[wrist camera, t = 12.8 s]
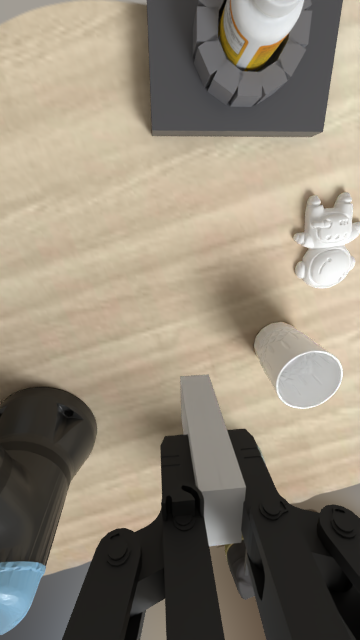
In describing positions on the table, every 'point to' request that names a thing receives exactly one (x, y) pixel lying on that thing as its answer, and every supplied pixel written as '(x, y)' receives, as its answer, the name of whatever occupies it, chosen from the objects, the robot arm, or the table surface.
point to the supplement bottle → (255, 30)
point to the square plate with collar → (238, 74)
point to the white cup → (297, 366)
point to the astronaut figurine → (326, 242)
